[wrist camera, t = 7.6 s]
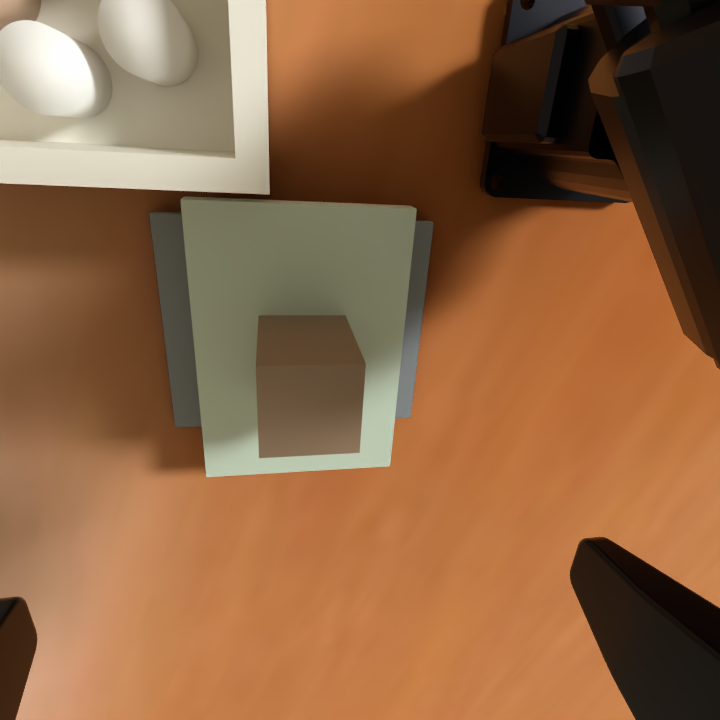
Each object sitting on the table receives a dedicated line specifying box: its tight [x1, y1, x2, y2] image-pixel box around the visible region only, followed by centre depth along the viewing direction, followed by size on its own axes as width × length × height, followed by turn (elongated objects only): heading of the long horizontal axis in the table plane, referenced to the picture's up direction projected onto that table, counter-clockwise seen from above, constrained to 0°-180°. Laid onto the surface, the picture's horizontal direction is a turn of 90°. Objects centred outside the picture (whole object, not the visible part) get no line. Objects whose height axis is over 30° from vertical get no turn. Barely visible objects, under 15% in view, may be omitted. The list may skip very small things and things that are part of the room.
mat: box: [149, 211, 434, 428], centre depth 19 cm, size 10×8×1 cm
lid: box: [180, 196, 417, 477], centre depth 16 cm, size 10×7×6 cm
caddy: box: [0, 0, 270, 194], centre depth 12 cm, size 10×7×5 cm
